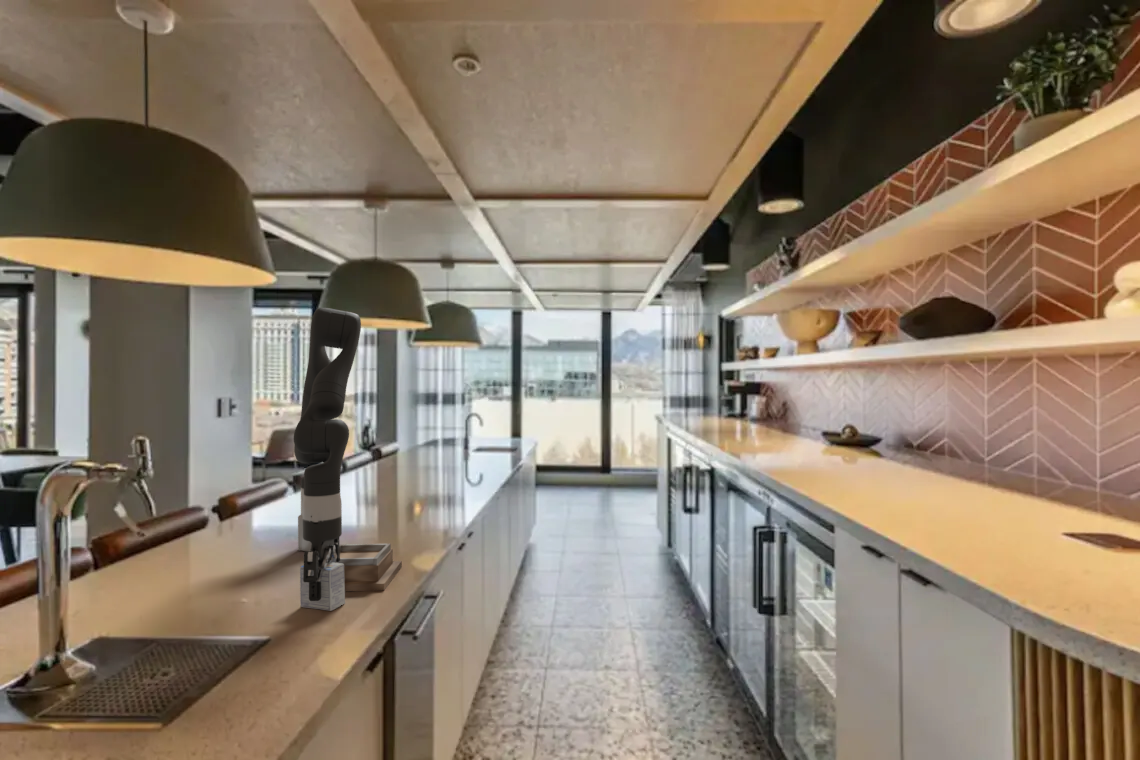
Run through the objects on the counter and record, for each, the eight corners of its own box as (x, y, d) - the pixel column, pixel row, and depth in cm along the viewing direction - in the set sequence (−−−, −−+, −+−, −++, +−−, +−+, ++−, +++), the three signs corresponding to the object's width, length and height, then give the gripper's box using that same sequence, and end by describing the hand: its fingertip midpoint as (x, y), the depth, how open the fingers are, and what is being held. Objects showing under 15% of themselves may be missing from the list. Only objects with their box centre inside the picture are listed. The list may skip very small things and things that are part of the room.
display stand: (306, 592, 133) (306, 562, 133) (333, 568, 150) (332, 542, 150) (384, 590, 134) (384, 561, 134) (401, 566, 150) (401, 541, 151)
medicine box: (345, 604, 125) (345, 563, 125) (330, 612, 121) (330, 569, 121) (315, 600, 128) (315, 559, 128) (299, 607, 124) (299, 565, 124)
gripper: (316, 508, 131) (317, 582, 131) (289, 523, 117) (290, 606, 117) (351, 507, 132) (351, 581, 132) (328, 522, 118) (329, 605, 118)
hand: (322, 592), depth 124 cm, fingers open, 8 cm apart
